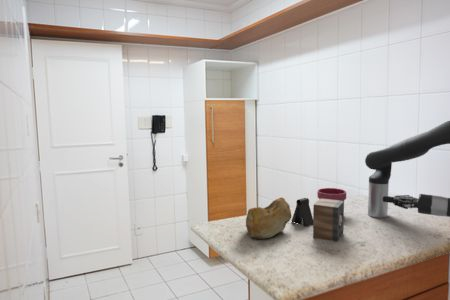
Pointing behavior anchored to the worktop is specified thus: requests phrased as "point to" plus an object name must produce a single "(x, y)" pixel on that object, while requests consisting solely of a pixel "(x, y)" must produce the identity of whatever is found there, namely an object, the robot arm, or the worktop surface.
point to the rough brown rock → (268, 219)
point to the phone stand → (303, 213)
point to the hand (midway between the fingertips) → (382, 198)
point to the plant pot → (332, 194)
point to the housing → (328, 219)
